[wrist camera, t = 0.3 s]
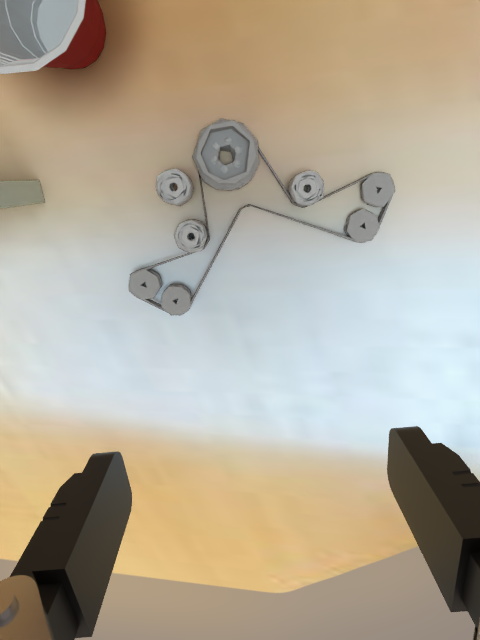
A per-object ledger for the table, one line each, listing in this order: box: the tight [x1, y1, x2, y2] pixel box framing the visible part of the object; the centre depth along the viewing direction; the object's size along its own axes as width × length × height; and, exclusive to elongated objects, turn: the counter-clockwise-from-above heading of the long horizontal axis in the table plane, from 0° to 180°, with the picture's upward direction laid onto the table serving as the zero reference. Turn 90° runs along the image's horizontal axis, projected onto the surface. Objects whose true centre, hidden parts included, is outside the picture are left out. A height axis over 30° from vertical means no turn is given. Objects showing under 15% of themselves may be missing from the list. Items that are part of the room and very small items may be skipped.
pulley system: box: [129, 119, 395, 315], centre depth 35 cm, size 27×5×15 cm
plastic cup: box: [0, 0, 106, 74], centre depth 26 cm, size 11×11×12 cm
